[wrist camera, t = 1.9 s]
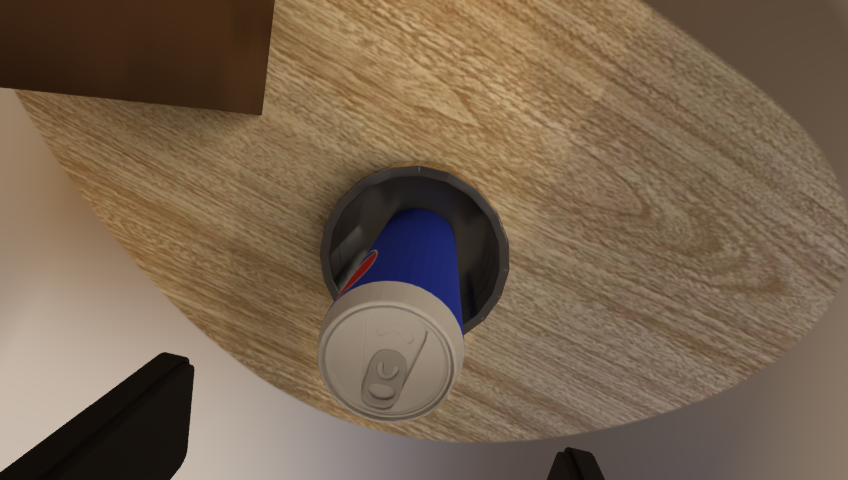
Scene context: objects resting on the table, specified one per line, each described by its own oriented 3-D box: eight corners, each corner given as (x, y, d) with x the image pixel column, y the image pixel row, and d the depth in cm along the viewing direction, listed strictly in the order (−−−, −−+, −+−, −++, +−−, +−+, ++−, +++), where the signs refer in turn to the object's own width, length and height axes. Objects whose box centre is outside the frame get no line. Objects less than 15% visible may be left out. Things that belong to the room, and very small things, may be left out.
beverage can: (391, 198, 27) (325, 273, 12) (464, 217, 27) (486, 316, 12) (374, 267, 28) (297, 409, 13) (444, 286, 28) (441, 447, 14)
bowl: (355, 143, 26) (337, 145, 22) (519, 182, 26) (533, 192, 22) (328, 295, 29) (308, 323, 25) (475, 330, 29) (480, 364, 25)
